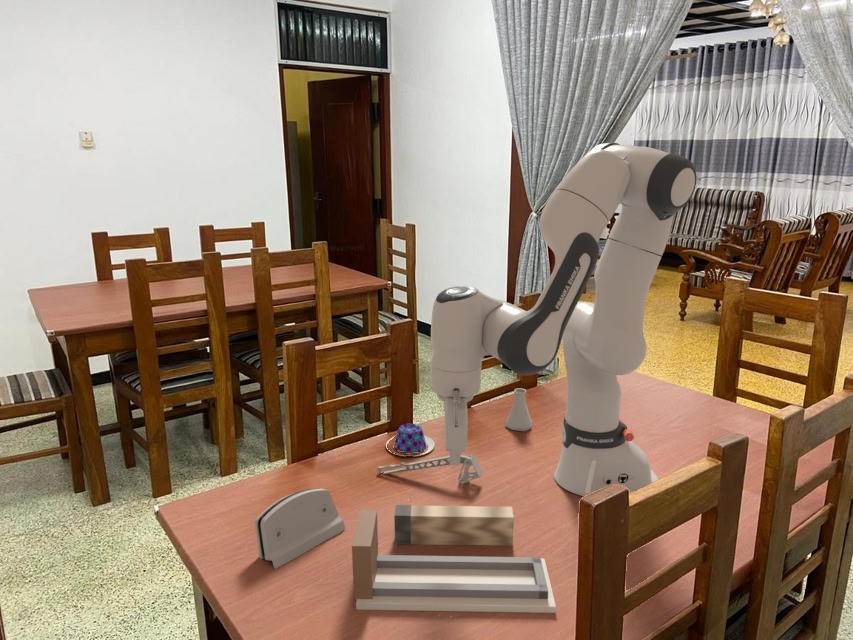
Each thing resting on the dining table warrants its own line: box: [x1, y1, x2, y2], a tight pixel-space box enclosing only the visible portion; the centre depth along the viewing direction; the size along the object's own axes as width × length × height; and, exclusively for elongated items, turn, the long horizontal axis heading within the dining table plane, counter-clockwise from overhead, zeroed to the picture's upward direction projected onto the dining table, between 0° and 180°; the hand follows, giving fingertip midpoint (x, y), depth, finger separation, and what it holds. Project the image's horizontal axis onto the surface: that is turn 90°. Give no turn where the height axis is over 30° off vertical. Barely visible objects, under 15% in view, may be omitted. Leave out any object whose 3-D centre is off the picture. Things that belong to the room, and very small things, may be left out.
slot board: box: [351, 509, 557, 614], centre depth 106 cm, size 32×12×11 cm, turn 89°
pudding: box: [385, 422, 436, 457], centre depth 155 cm, size 12×12×5 cm
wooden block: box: [393, 504, 515, 547], centre depth 120 cm, size 22×4×6 cm, turn 89°
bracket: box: [377, 453, 483, 485], centre depth 141 cm, size 3×21×10 cm, turn 78°
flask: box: [504, 387, 533, 432], centre depth 166 cm, size 7×7×10 cm
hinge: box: [254, 487, 346, 570], centre depth 119 cm, size 17×5×10 cm, turn 137°
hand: (454, 450), depth 115 cm, fingers open, 8 cm apart
